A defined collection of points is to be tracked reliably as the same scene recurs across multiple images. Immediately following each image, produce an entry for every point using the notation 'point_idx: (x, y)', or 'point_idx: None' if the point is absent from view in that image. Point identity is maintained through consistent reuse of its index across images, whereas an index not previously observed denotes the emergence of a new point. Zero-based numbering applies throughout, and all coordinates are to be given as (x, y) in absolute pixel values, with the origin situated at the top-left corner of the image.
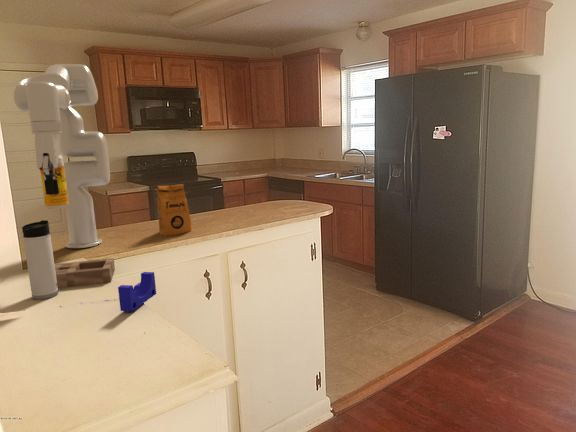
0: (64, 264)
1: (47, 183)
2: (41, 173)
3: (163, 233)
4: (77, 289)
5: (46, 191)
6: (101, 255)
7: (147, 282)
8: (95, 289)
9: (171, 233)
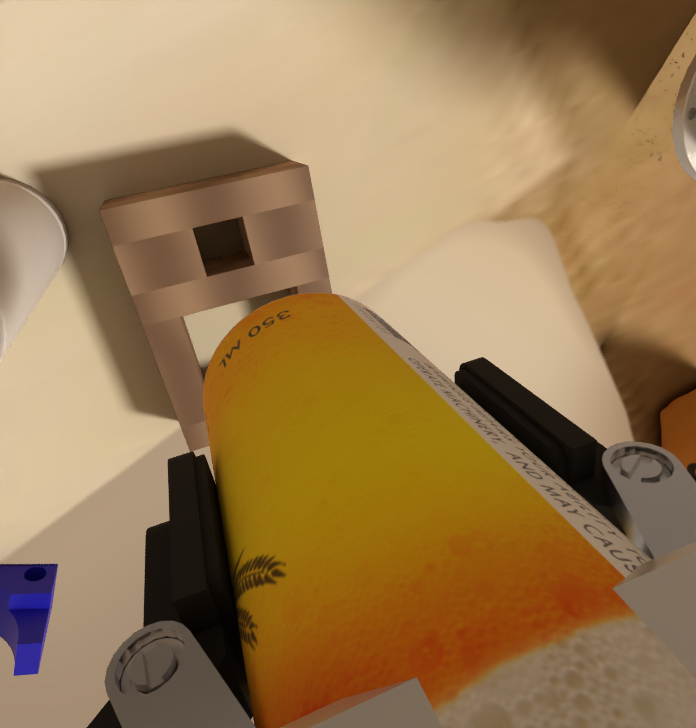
0: (292, 217)
1: (146, 611)
2: (324, 608)
3: (686, 418)
4: (99, 335)
5: (172, 484)
6: (570, 231)
7: (13, 639)
8: (97, 405)
9: (675, 444)
